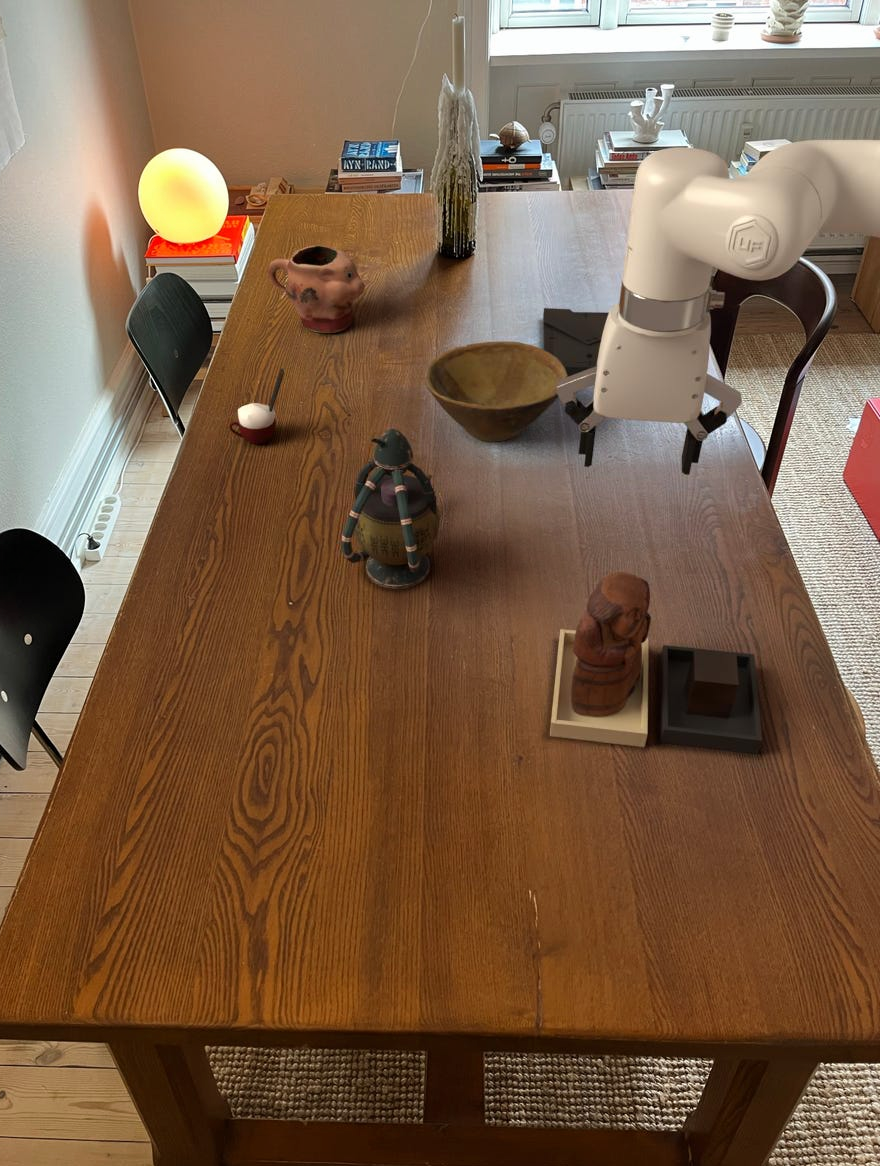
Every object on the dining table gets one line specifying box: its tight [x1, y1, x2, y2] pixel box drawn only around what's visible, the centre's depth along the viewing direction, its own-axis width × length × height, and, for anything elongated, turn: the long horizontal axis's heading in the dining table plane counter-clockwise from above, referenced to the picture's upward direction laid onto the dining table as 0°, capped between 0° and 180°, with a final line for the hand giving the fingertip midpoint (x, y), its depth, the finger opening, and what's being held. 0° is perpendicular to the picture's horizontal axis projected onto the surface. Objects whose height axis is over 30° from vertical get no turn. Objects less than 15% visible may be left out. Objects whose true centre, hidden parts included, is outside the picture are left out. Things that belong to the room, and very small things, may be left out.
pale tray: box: [549, 628, 649, 748], centre depth 124 cm, size 11×16×2 cm
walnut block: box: [685, 651, 739, 718], centre depth 121 cm, size 5×5×6 cm
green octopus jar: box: [340, 427, 441, 590], centre depth 138 cm, size 12×25×23 cm, turn 165°
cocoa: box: [229, 368, 285, 445], centre depth 164 cm, size 10×6×12 cm, turn 78°
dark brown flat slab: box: [542, 307, 609, 377], centre depth 185 cm, size 16×3×21 cm
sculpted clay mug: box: [267, 245, 366, 334], centre depth 192 cm, size 20×12×14 cm, turn 73°
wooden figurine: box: [571, 571, 652, 717], centre depth 118 cm, size 12×6×18 cm, turn 146°
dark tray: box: [659, 644, 763, 755], centre depth 122 cm, size 11×14×2 cm
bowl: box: [424, 340, 568, 443], centre depth 165 cm, size 22×23×10 cm
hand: (636, 463), depth 101 cm, fingers open, 9 cm apart
